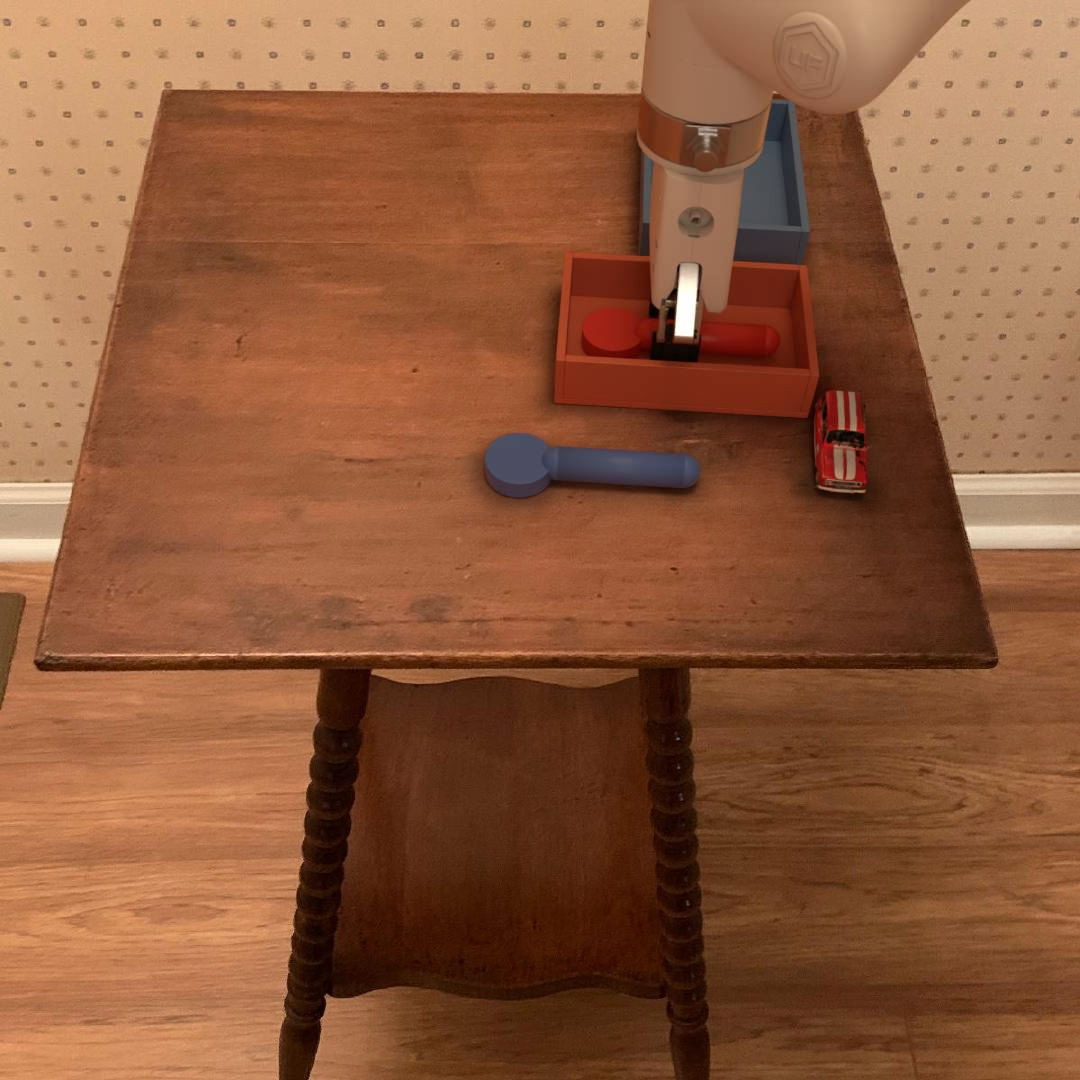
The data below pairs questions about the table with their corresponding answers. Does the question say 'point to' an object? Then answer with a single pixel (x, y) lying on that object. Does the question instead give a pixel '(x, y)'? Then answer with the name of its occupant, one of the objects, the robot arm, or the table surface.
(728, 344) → the red spoon
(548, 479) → the blue spoon
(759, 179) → the blue bin
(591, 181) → the table surface
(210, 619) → the table surface
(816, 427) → the toy car
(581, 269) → the red bin
